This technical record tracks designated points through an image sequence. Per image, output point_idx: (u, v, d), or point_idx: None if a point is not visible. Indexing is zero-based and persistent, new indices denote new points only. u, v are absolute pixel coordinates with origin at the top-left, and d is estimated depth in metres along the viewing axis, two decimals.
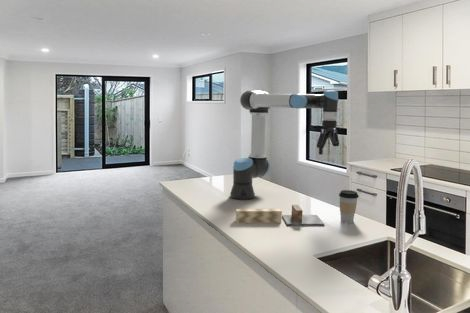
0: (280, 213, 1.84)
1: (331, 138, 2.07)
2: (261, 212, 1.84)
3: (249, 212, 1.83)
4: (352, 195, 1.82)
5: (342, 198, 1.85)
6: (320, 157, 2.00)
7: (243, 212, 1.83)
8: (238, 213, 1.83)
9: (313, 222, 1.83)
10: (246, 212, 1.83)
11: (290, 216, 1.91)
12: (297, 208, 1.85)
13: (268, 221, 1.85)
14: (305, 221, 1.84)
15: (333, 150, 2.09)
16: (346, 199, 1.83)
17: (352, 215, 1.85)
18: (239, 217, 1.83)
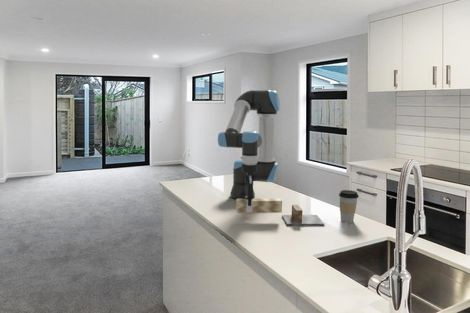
0: (280, 203, 1.84)
1: None
2: (261, 202, 1.83)
3: None
4: (352, 195, 1.82)
5: (342, 198, 1.85)
6: None
7: (243, 202, 1.83)
8: (238, 203, 1.83)
9: (313, 222, 1.83)
10: (246, 202, 1.83)
11: (290, 216, 1.91)
12: (297, 208, 1.85)
13: (268, 211, 1.84)
14: (305, 221, 1.84)
15: None
16: (346, 199, 1.83)
17: (352, 215, 1.85)
18: (239, 207, 1.83)
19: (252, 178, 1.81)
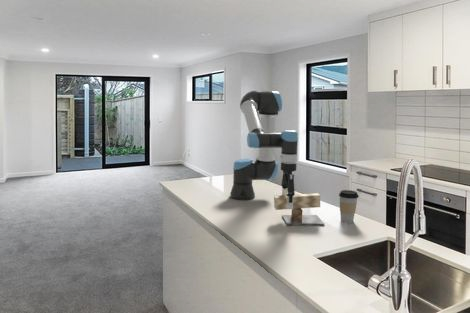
0: (319, 197, 1.84)
1: None
2: (300, 197, 1.84)
3: None
4: (352, 195, 1.82)
5: (342, 198, 1.85)
6: None
7: (282, 198, 1.83)
8: (277, 200, 1.83)
9: (313, 222, 1.83)
10: (285, 198, 1.83)
11: (290, 216, 1.91)
12: None
13: (307, 206, 1.84)
14: (305, 221, 1.84)
15: None
16: (346, 199, 1.83)
17: (352, 215, 1.85)
18: (278, 204, 1.83)
19: None
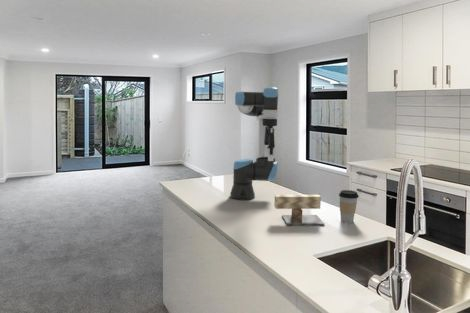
0: (319, 199, 1.84)
1: None
2: (300, 198, 1.84)
3: (288, 198, 1.83)
4: (352, 195, 1.82)
5: (342, 198, 1.85)
6: None
7: (283, 198, 1.83)
8: (278, 199, 1.83)
9: (313, 222, 1.83)
10: (286, 198, 1.83)
11: (290, 216, 1.91)
12: None
13: (307, 207, 1.85)
14: (305, 221, 1.84)
15: None
16: (346, 199, 1.83)
17: (352, 215, 1.85)
18: (278, 203, 1.83)
19: None
